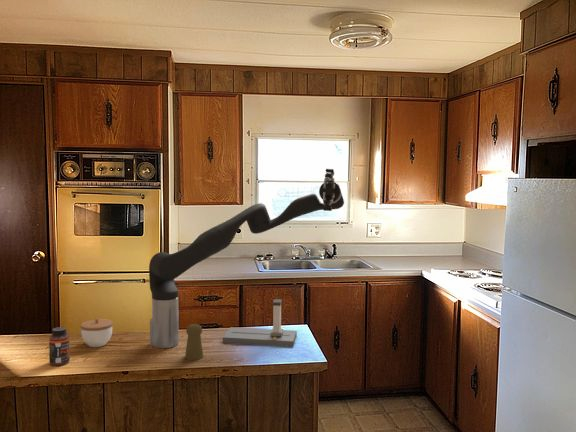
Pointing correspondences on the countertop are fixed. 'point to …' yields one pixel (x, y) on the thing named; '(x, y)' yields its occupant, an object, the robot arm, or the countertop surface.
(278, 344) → the slider console
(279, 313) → the post
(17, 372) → the countertop surface
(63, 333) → the supplement bottle
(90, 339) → the lidded jar
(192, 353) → the pepper mill
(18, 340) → the countertop surface
